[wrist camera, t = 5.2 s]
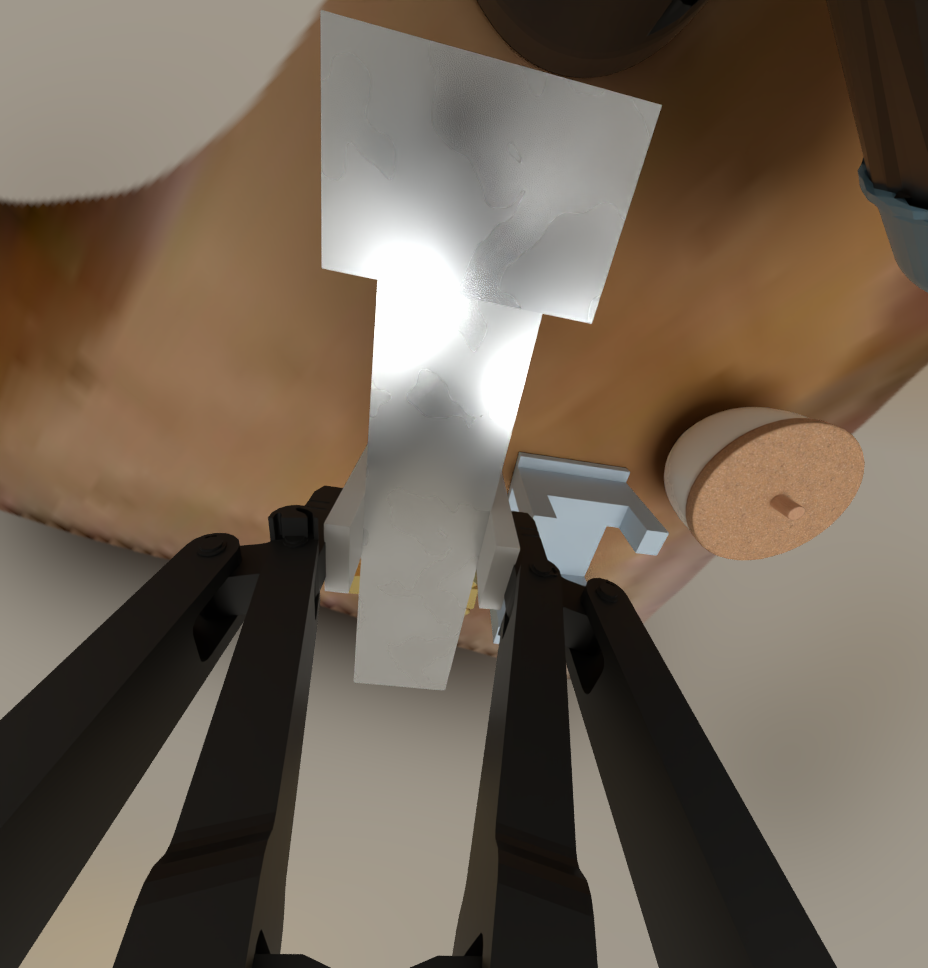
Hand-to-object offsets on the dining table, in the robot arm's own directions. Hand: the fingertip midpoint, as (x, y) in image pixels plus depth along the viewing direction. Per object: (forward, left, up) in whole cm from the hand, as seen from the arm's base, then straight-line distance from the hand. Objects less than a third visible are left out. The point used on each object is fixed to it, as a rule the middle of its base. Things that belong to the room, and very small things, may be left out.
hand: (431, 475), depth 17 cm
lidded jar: (+1, +23, -13) cm, 26 cm away
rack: (+11, +12, -13) cm, 20 cm away
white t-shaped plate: (-1, 0, -1) cm, 1 cm away
